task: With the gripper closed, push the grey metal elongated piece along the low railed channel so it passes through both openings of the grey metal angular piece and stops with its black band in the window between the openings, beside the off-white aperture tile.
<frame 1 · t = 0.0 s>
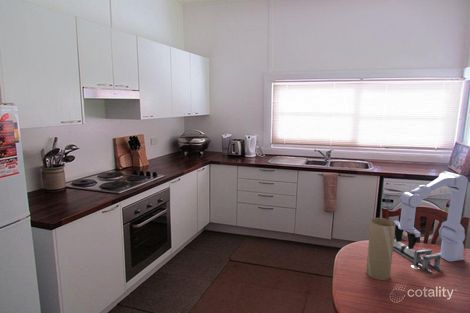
hand: (404, 244, 152), 10 cm above the table, fingers open, 7 cm apart
grey metal elongated piece: (405, 253, 165), on the table
grey metal angular piece: (426, 265, 152), on the table
tube: (377, 274, 145), on the table
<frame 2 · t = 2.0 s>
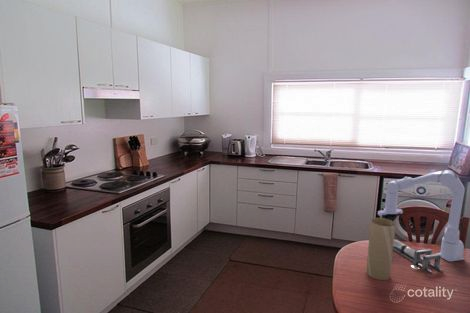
hand: (388, 226, 175), 9 cm above the table, fingers closed
nothing on the table moved.
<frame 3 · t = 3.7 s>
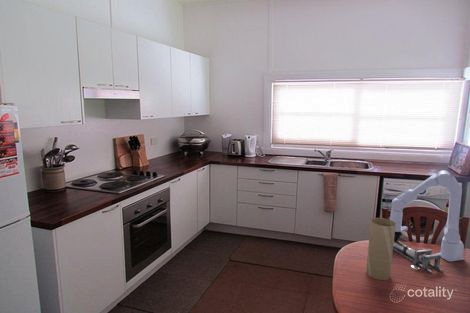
hand: (393, 244, 172), 1 cm above the table, fingers closed, pressing on grey metal elongated piece
grey metal elongated piece: (407, 254, 163), on the table, touching gripper
everything else where it was.
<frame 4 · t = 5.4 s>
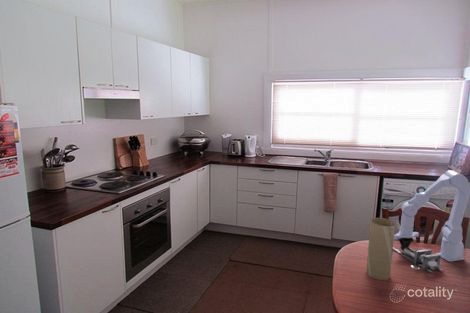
hand: (404, 250, 165), 1 cm above the table, fingers closed, pressing on grey metal elongated piece
grey metal elongated piece: (419, 261, 156), on the table, touching gripper
everything else where it was.
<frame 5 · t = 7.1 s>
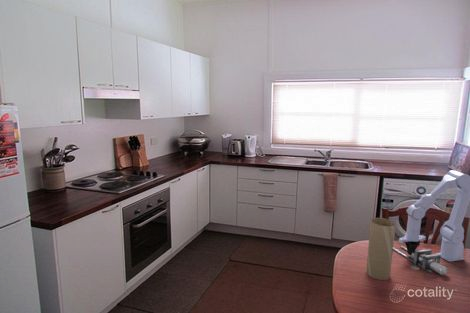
hand: (410, 254, 161), 1 cm above the table, fingers closed
grey metal elongated piece: (428, 266, 152), on the table
everything else where it was.
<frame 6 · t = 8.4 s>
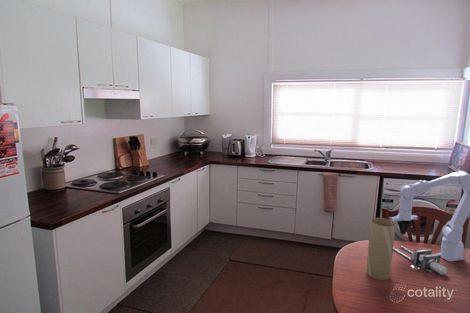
hand: (402, 233, 166), 9 cm above the table, fingers closed
nothing on the table moved.
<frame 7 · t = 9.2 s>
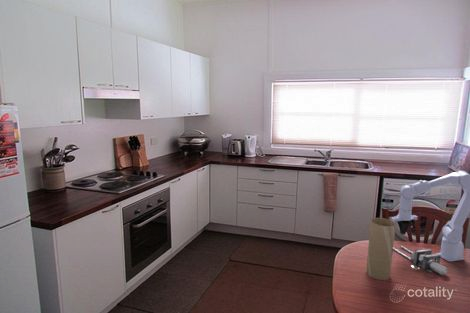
hand: (402, 233, 166), 9 cm above the table, fingers closed
nothing on the table moved.
at the end: grey metal elongated piece 0.8 cm from the target spot, on the table; grey metal elongated piece moved 13.8 cm from its start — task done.
